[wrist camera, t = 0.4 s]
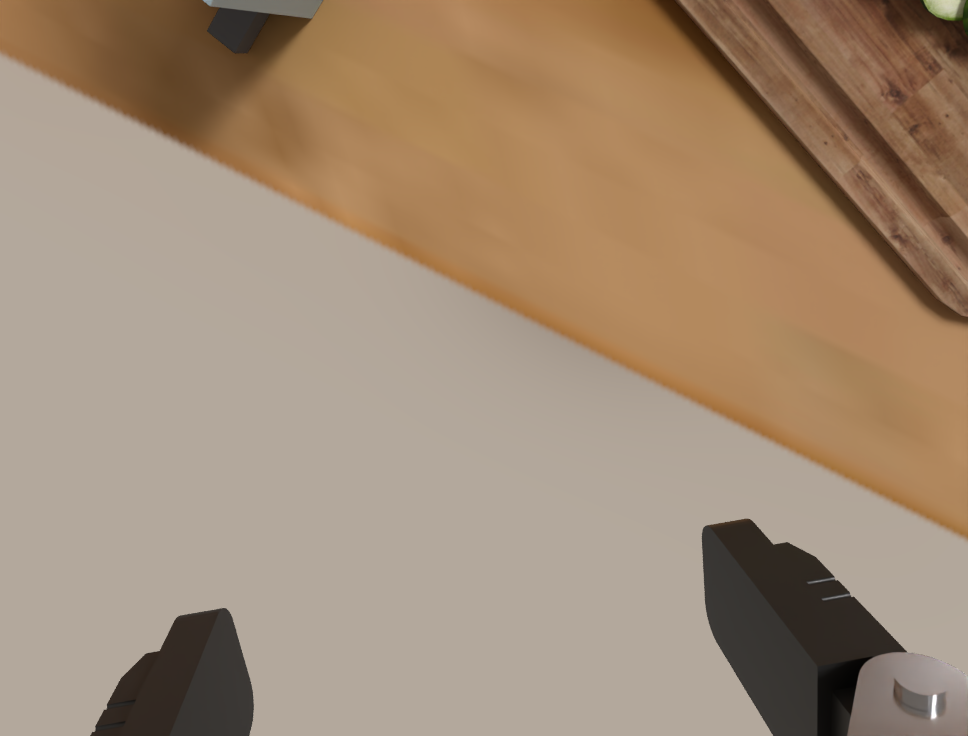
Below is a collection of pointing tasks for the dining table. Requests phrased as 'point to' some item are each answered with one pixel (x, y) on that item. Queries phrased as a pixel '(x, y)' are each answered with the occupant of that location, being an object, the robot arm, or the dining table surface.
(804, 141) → the chopping board
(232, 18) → the long charcoal bar
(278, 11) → the tall gray-blue pillar
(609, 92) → the dining table surface
